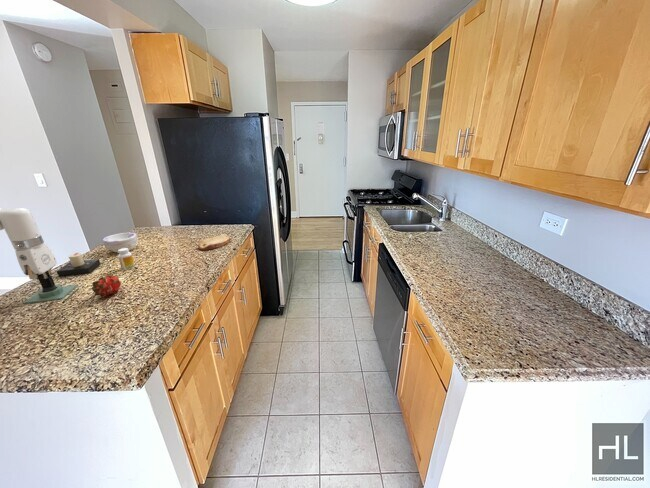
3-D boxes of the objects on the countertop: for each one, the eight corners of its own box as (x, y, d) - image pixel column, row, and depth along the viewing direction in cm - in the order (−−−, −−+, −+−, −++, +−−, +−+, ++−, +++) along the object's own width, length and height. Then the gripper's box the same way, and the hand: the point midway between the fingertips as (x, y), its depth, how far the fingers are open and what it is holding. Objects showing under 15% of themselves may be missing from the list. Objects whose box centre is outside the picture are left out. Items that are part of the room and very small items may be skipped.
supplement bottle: (137, 265, 129) (132, 247, 126) (131, 270, 124) (125, 251, 121) (126, 265, 129) (120, 247, 125) (119, 270, 124) (113, 251, 120)
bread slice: (230, 237, 166) (229, 231, 165) (231, 247, 151) (231, 241, 149) (199, 240, 160) (198, 235, 159) (198, 251, 144) (196, 245, 143)
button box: (25, 307, 96) (20, 298, 95) (44, 293, 105) (39, 285, 104) (64, 302, 99) (60, 293, 98) (79, 289, 108) (75, 280, 107)
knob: (81, 266, 122) (77, 255, 120) (70, 267, 120) (66, 257, 118) (86, 262, 125) (82, 252, 123) (75, 263, 124) (71, 253, 122)
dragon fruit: (98, 306, 100) (118, 293, 111) (115, 292, 99) (133, 281, 111) (79, 290, 98) (102, 279, 109) (96, 276, 97) (117, 266, 109)
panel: (58, 277, 118) (56, 270, 117) (72, 267, 127) (69, 261, 126) (90, 273, 121) (87, 267, 120) (100, 264, 130) (98, 258, 129)
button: (41, 293, 99) (39, 289, 98) (47, 288, 102) (46, 284, 102) (52, 292, 100) (51, 288, 99) (58, 287, 103) (57, 283, 103)
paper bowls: (146, 244, 154) (142, 232, 151) (125, 255, 140) (121, 241, 137) (122, 244, 155) (118, 231, 152) (99, 254, 141) (94, 240, 138)
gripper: (25, 249, 88) (47, 295, 95) (54, 234, 101) (72, 276, 108) (-3, 251, 86) (22, 298, 93) (30, 236, 99) (50, 278, 106)
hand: (49, 286), depth 100 cm, fingers closed
